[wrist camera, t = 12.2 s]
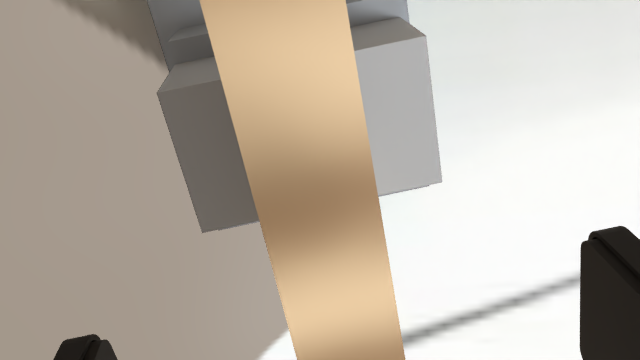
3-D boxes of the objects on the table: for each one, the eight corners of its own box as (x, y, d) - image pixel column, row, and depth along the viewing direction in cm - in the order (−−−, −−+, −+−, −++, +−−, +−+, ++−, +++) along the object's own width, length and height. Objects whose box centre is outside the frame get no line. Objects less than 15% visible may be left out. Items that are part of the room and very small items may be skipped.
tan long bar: (166, -227, 17) (118, -298, 11) (282, -252, 17) (290, -335, 11) (319, 376, 27) (333, 491, 21) (392, 361, 27) (423, 472, 21)
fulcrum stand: (143, -35, 27) (90, -15, 19) (389, -87, 27) (442, -90, 19) (220, 217, 33) (205, 314, 25) (422, 175, 33) (473, 258, 25)
